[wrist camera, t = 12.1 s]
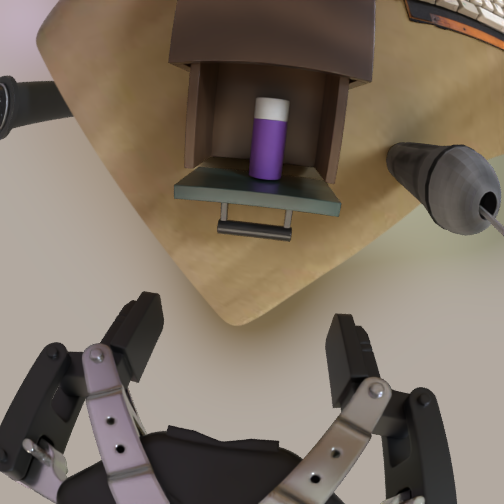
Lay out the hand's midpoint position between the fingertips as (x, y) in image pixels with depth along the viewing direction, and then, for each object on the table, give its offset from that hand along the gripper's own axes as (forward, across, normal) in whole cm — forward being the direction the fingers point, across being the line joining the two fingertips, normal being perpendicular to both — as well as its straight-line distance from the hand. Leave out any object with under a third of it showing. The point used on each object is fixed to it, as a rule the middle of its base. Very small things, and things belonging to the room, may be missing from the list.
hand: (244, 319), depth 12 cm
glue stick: (+18, 0, -6) cm, 19 cm away
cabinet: (+20, 0, -20) cm, 29 cm away
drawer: (+19, 0, -6) cm, 20 cm away
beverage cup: (+21, -16, -6) cm, 27 cm away
